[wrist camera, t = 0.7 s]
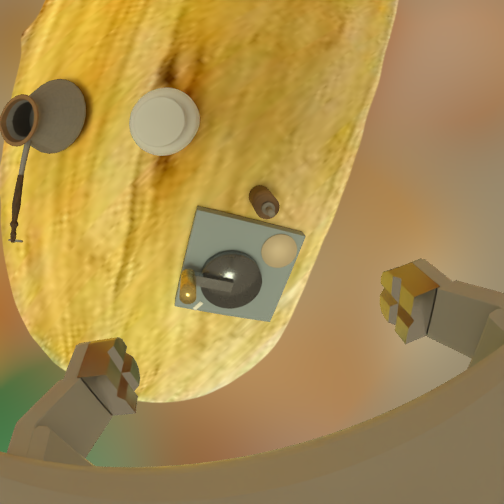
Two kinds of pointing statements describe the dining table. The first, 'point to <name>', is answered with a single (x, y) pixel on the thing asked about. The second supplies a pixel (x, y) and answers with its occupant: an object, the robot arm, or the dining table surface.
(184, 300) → the dial
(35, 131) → the coffee pot
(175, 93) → the pill bottle
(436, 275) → the robot arm
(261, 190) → the brown bottle
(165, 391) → the dining table surface
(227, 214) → the board
